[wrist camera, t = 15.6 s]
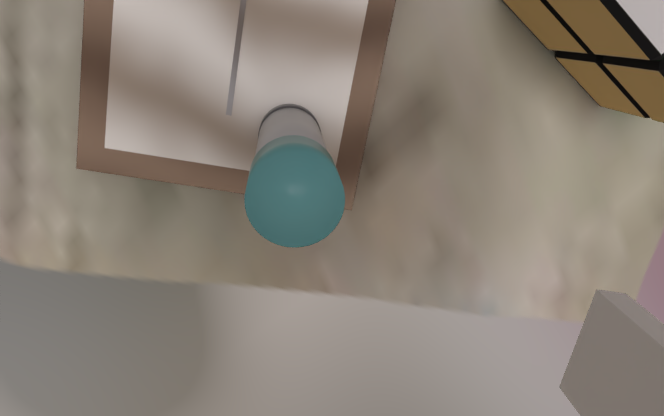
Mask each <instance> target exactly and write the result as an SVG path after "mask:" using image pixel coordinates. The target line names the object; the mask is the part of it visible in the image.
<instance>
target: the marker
mask: <svg viewBox="0 0 664 416" xmlns="http://www.w3.org/2000/svg"><path fill="white" fill-rule="evenodd" d="M344 207H345V193H344V188H343V184H342V182H341V179H340V176H339V174H338V171H337V168H336V166H335V163H334V161H333V159H332V157H331V155H330V154H329V152H328V151H327V148H326V146H325V143H324V140H323V137H322V134H321V130H320V127H319V124H318V122H317V120H316V118H315V116H314V115H313V114H312V113H311V112H310V111H309V110H307V109H306V108H304V107H302V106H300V105H296V104H282V105H279V106H276V107H274V108H273V109H271V110H270V111H269V112H268V113H267V114H266V115H265V116H264V118H263V119H262V122H261V124H260V128H259V133H258V143H257V148H256V154H255V157H254V159H253V161H252V164H251V167H250V171H249V176H248V181H247V186H246V191H245V209H246V213H247V216H248V218H249V221H250V222H251V224H252V226H253V227H254V228H255V230H256V231H257V232H258V233H259V234H260V235H261V236H263V237H264V238H265V239H267V240H269V241H270V242H272V243H275V244H277V245H281V246H285V247H304V246H308V245H312V244H314V243H316V242H319V241H320V240H322V239H324V238H325V237H326V236H328V235H329V234H330V233H331V232H332V231H333V230H334V229H335V227H336V226H337V225H338V223H339V221H340V219H341V217H342V214H343V211H344Z"/></svg>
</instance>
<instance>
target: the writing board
mask: <svg viewBox="0 0 664 416" xmlns="http://www.w3.org/2000/svg"><path fill="white" fill-rule="evenodd" d="M395 2H396V0H84V18H83V39H82V60H81V81H80V102H79V124H78V145H77V166H76V168H77V169H83V170H90V171H96V172H103V173H109V174H116V175H123V176H129V177H136V178H142V179H149V180H155V181H162V182H169V183H175V184H182V185H188V186H195V187H202V188H208V189H215V190H221V191H228V192H234V193H241V194H245V191H246V186H247V181H248V176H249V171H250V167H251V164H252V161H253V159H254V157H255V154H256V148H257V143H258V133H259V128H260V124H261V122H262V119H263V118H264V116H265V115H266V114H267V113H268V112H269V111H270V110H271V109H273V108H274V107H276V106H279V105H282V104H296V105H300V106H302V107H304V108H306V109H307V110H309V111H310V112H311V113H312V114H313V115H314V116H315V118H316V120H317V122H318V124H319V127H320V130H321V134H322V137H323V140H324V143H325V146H326V148H327V151H328V152H329V154H330V155H331V157H332V159H333V161H334V163H335V166H336V168H337V171H338V174H339V176H340V179H341V182H342V184H343V188H344V193H345V207H344V209H346V210H352V206H353V201H354V196H355V191H356V187H357V182H358V177H359V173H360V168H361V163H362V158H363V154H364V149H365V144H366V139H367V135H368V130H369V125H370V121H371V116H372V111H373V106H374V102H375V97H376V92H377V87H378V83H379V78H380V73H381V69H382V64H383V59H384V54H385V50H386V45H387V40H388V35H389V31H390V26H391V21H392V17H393V12H394V7H395Z"/></svg>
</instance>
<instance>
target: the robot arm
mask: <svg viewBox="0 0 664 416" xmlns="http://www.w3.org/2000/svg"><path fill="white" fill-rule="evenodd" d="M560 389H561V390H562V391H563V392H564V394H565V395H566V397H567V398H568V399H569V401H570V402H571V403H572V405H573V406H574V407H575V409H576V410H577V411H578V413H579V414H580V415H581V416H664V324H663V323H662V322H661V321H659V320H658V319H657V318H656V317H655V316H653V315H652V314H651V313H650V312H648V311H647V310H646V309H645V308H643V307H642V306H641V305H640V304H638V303H637V302H636V301H635V300H633V299H632V298H631V297H630V296H628V295H627V294H626V293H619V292H612V291H605V290H597V289H596V292H595V295H594V297H593V300H592V303H591V305H590V308H589V310H588V313H587V316H586V318H585V321H584V324H583V326H582V329H581V331H580V334H579V337H578V339H577V342H576V345H575V347H574V350H573V352H572V355H571V358H570V360H569V363H568V366H567V368H566V371H565V373H564V376H563V379H562V381H561V384H560Z"/></svg>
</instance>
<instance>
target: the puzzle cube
mask: <svg viewBox="0 0 664 416" xmlns="http://www.w3.org/2000/svg"><path fill="white" fill-rule="evenodd" d="M503 1H504V2H505V3H506V4H507V5H508V7H509V8H510V9H511V10H512V11H513V12H514V13H515V14H516V15H517V16H518V17H519V18H520V20H521V21H522V22H523V23H524V24H525V25H526V26H527V27H528V28H529V29H530V30H531V31H532V32H533V34H534V35H535V36H536V37H537V38H538V39H539V40H540V41H541V42H542V43H543V44H544V45H545V47H546V48H547V49H548V50H556V56H555V58H556V59H557V60H558V61H559V62H560V63H561V64H562V65H563V66H564V67H565V68H566V69H567V71H568V72H569V73H570V74H571V75H572V76H573V77H574V78H575V79H576V80H577V81H578V82H579V84H580V85H581V86H582V87H583V88H584V89H585V90H586V91H587V92H588V93H589V94H590V95H591V97H592V98H593V99H594V100H595V101H596V102H597V103H598V104H599V105H600V106H602V107H605V108H609V109H613V110H617V111H621V112H624V113H628V114H632V115H636V116H640V117H643V118H651V119H652V120H655V121H659V122H663V123H664V0H503Z"/></svg>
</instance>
